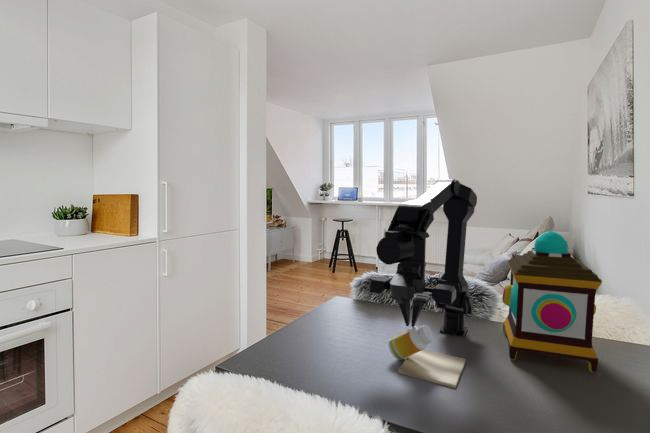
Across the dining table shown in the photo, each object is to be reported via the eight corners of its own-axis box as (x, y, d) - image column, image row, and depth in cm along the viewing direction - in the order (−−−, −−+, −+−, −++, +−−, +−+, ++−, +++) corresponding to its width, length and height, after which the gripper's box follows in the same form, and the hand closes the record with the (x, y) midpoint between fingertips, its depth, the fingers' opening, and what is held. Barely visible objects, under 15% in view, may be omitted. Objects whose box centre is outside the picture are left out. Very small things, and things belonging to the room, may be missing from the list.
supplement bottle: (400, 365, 85) (435, 349, 81) (385, 348, 85) (420, 331, 80) (403, 349, 90) (437, 333, 85) (389, 333, 90) (422, 316, 85)
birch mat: (414, 350, 92) (414, 347, 92) (465, 361, 86) (465, 359, 86) (397, 372, 81) (397, 370, 81) (455, 388, 75) (455, 385, 75)
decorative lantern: (607, 379, 79) (617, 239, 76) (503, 362, 86) (510, 233, 83) (580, 342, 97) (587, 228, 95) (497, 331, 104) (502, 225, 102)
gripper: (359, 259, 81) (358, 329, 82) (447, 269, 72) (444, 347, 73) (378, 253, 91) (377, 315, 92) (457, 260, 82) (455, 329, 83)
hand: (410, 326), depth 85 cm, fingers closed
